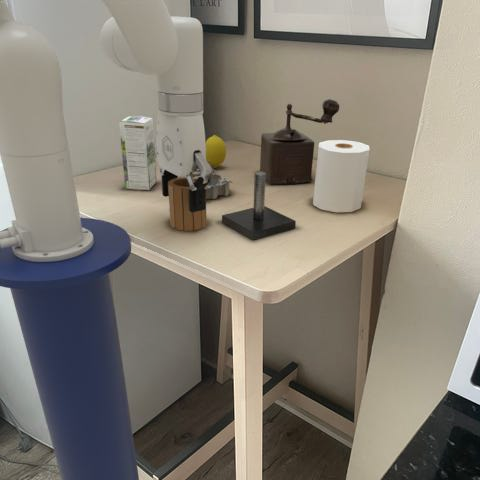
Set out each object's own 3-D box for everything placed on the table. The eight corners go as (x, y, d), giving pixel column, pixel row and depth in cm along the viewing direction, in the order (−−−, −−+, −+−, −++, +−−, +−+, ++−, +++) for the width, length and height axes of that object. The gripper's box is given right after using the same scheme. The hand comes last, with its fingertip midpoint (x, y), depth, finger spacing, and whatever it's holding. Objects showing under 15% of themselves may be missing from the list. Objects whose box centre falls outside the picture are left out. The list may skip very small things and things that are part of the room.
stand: (253, 240, 89) (255, 185, 83) (221, 222, 96) (221, 170, 90) (295, 228, 94) (299, 175, 88) (262, 212, 101) (264, 162, 95)
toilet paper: (344, 194, 111) (352, 137, 104) (370, 209, 103) (380, 150, 96) (303, 198, 108) (309, 141, 101) (327, 215, 100) (335, 154, 93)
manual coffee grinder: (269, 186, 114) (274, 102, 105) (258, 172, 124) (261, 93, 114) (333, 182, 117) (343, 100, 107) (317, 169, 126) (325, 92, 117)
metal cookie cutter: (215, 186, 114) (215, 168, 112) (235, 195, 109) (235, 176, 107) (175, 194, 108) (174, 176, 106) (194, 204, 103) (194, 185, 101)
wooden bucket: (182, 233, 91) (180, 190, 86) (164, 221, 95) (161, 180, 91) (213, 225, 94) (212, 184, 90) (194, 214, 99) (193, 174, 94)
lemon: (201, 165, 127) (200, 133, 123) (221, 163, 129) (221, 131, 125) (208, 172, 123) (208, 138, 118) (229, 169, 125) (229, 136, 120)
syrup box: (133, 181, 116) (126, 115, 108) (157, 183, 115) (152, 116, 107) (125, 189, 111) (117, 120, 103) (150, 191, 110) (145, 122, 102)
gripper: (136, 96, 87) (143, 193, 96) (188, 113, 75) (190, 221, 84) (174, 94, 90) (177, 186, 100) (228, 110, 79) (226, 213, 88)
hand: (183, 202), depth 92 cm, fingers open, 9 cm apart
